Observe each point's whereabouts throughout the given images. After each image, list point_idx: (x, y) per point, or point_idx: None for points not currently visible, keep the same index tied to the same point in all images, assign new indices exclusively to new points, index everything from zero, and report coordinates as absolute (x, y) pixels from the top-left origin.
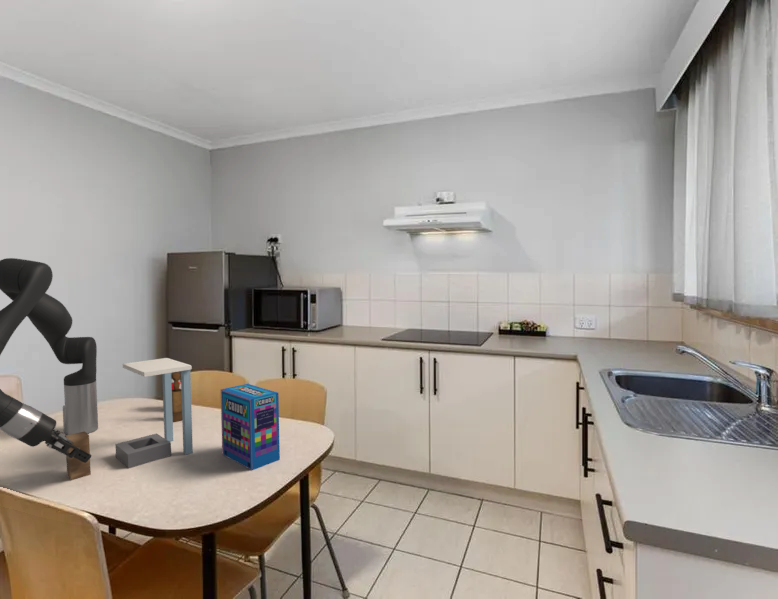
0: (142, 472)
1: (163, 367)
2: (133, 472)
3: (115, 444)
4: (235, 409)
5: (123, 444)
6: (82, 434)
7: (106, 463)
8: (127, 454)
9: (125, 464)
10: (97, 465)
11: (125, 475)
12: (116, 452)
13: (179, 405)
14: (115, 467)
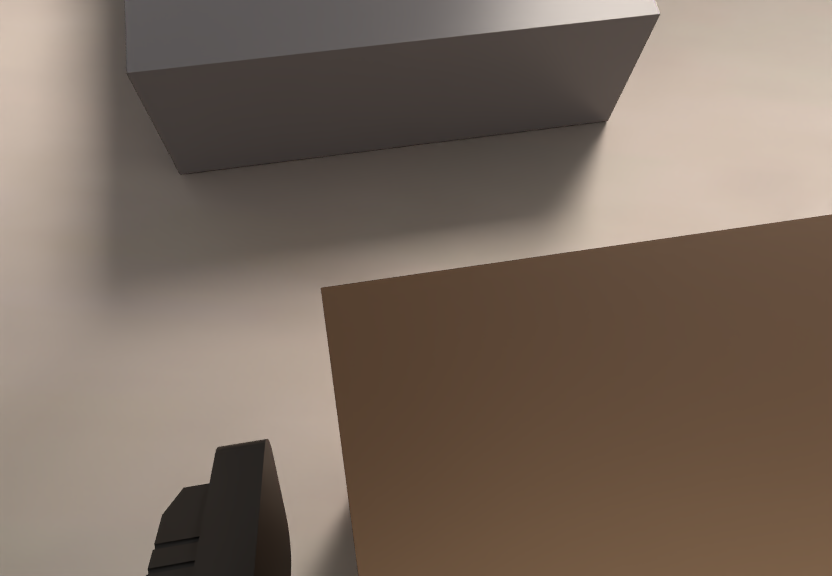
0: (781, 47)
1: None
2: (739, 101)
3: (130, 77)
4: None
5: (237, 4)
6: (658, 370)
7: (310, 271)
8: (643, 19)
9: (518, 124)
10: (303, 355)
11: (777, 163)
12: (194, 135)
13: None
14: (500, 210)
